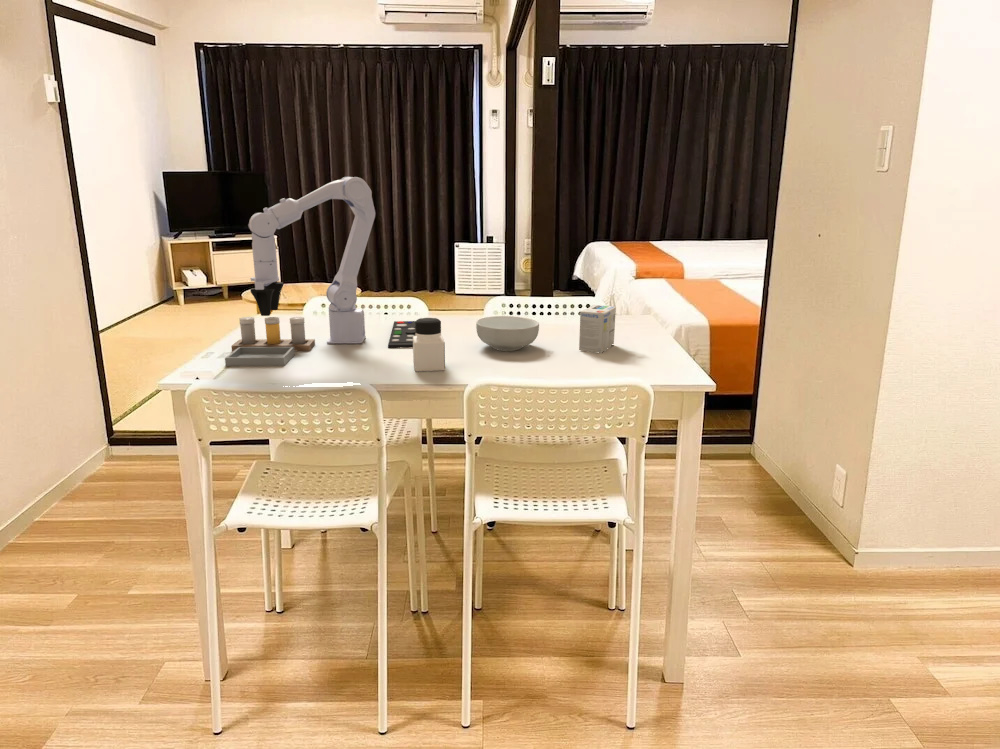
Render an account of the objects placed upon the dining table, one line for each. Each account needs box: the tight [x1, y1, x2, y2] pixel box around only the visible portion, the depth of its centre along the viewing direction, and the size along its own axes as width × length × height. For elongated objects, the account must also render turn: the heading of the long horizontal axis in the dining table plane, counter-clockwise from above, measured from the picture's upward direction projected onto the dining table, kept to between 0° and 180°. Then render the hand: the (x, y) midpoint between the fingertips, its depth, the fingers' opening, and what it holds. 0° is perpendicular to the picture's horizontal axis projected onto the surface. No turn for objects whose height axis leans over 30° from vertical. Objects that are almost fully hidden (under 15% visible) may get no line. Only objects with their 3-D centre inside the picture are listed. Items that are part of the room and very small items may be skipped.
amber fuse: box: [264, 316, 282, 344], centre depth 191 cm, size 4×4×8 cm
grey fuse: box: [289, 316, 306, 344], centre depth 191 cm, size 4×4×8 cm
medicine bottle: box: [412, 316, 446, 373], centre depth 173 cm, size 7×7×12 cm
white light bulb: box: [239, 316, 257, 344], centre depth 190 cm, size 4×4×8 cm
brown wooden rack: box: [231, 338, 316, 352], centre depth 191 cm, size 20×7×2 cm, turn 92°
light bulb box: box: [578, 304, 617, 354], centre depth 193 cm, size 11×7×11 cm, turn 154°
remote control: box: [387, 320, 416, 349], centre depth 207 cm, size 11×30×2 cm, turn 5°
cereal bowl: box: [475, 315, 540, 352], centre depth 193 cm, size 17×17×7 cm
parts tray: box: [224, 347, 296, 367], centre depth 179 cm, size 14×11×2 cm
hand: (269, 312), depth 190 cm, fingers open, 7 cm apart
